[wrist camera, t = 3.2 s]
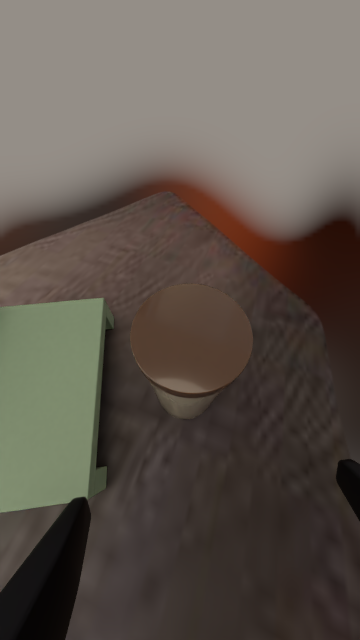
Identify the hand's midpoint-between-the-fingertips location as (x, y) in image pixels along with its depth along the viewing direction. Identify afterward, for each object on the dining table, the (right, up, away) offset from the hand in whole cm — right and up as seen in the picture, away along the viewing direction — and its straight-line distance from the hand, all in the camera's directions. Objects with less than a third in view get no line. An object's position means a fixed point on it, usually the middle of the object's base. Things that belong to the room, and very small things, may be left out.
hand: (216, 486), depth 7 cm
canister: (-1, -1, +13) cm, 14 cm away
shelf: (-14, -1, +13) cm, 19 cm away
